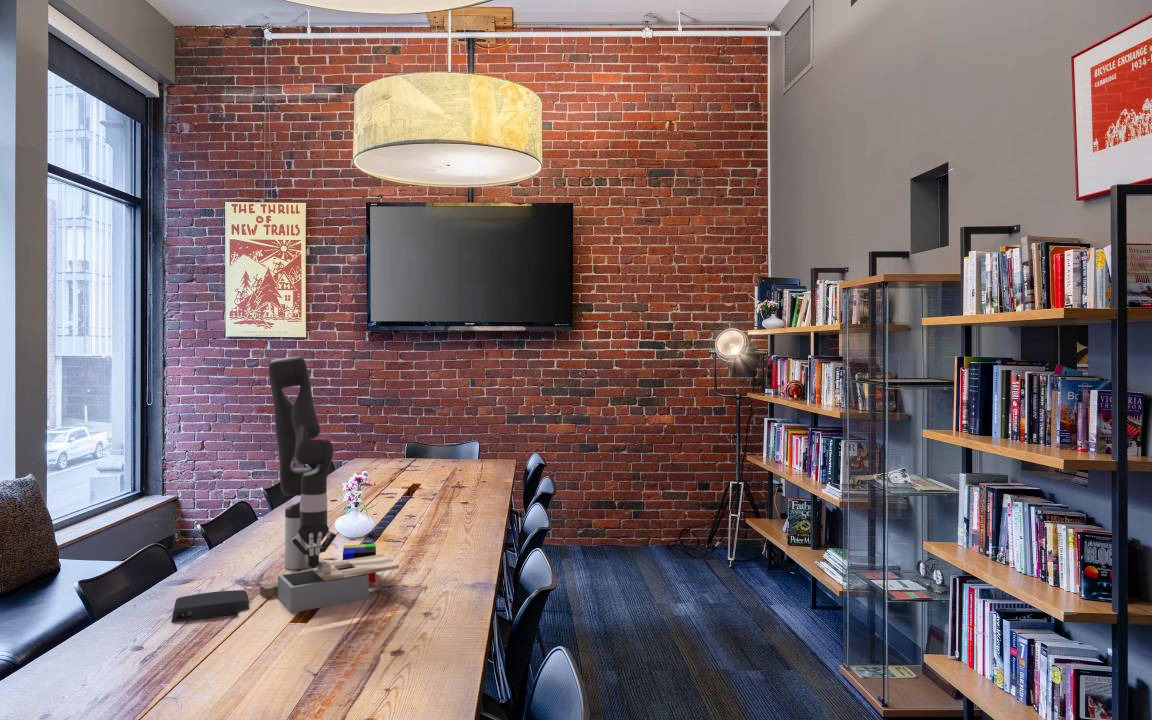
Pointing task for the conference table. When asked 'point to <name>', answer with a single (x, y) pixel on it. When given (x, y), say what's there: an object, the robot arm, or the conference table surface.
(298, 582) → the toolbox
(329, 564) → the lid
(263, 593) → the brown block
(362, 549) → the puzzle toy
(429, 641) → the conference table surface
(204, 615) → the external hard drive
